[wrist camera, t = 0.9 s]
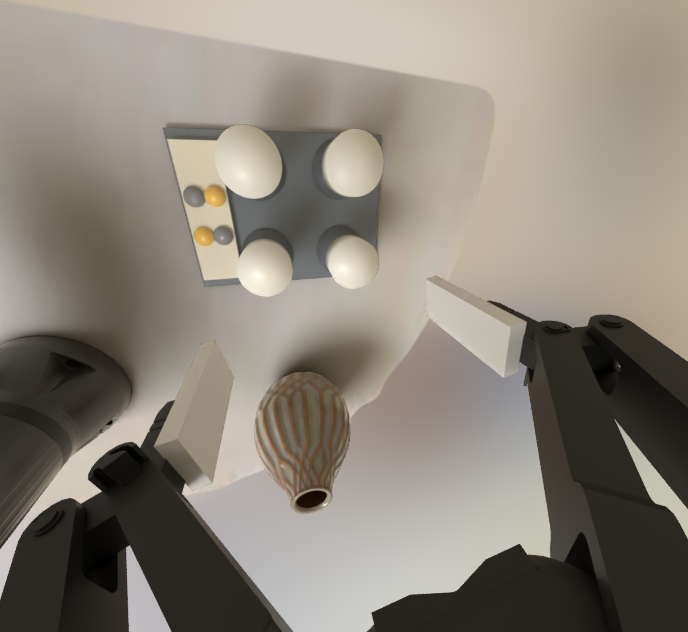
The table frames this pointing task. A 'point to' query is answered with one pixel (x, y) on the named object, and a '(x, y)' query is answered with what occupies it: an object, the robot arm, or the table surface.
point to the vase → (303, 437)
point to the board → (266, 205)
